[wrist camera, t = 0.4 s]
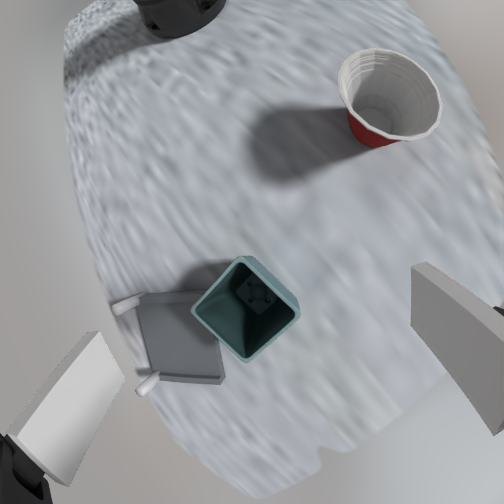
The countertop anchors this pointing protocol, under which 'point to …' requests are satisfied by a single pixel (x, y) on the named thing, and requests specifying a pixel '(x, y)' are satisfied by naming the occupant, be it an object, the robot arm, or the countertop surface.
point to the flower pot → (247, 308)
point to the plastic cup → (388, 97)
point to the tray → (175, 339)
